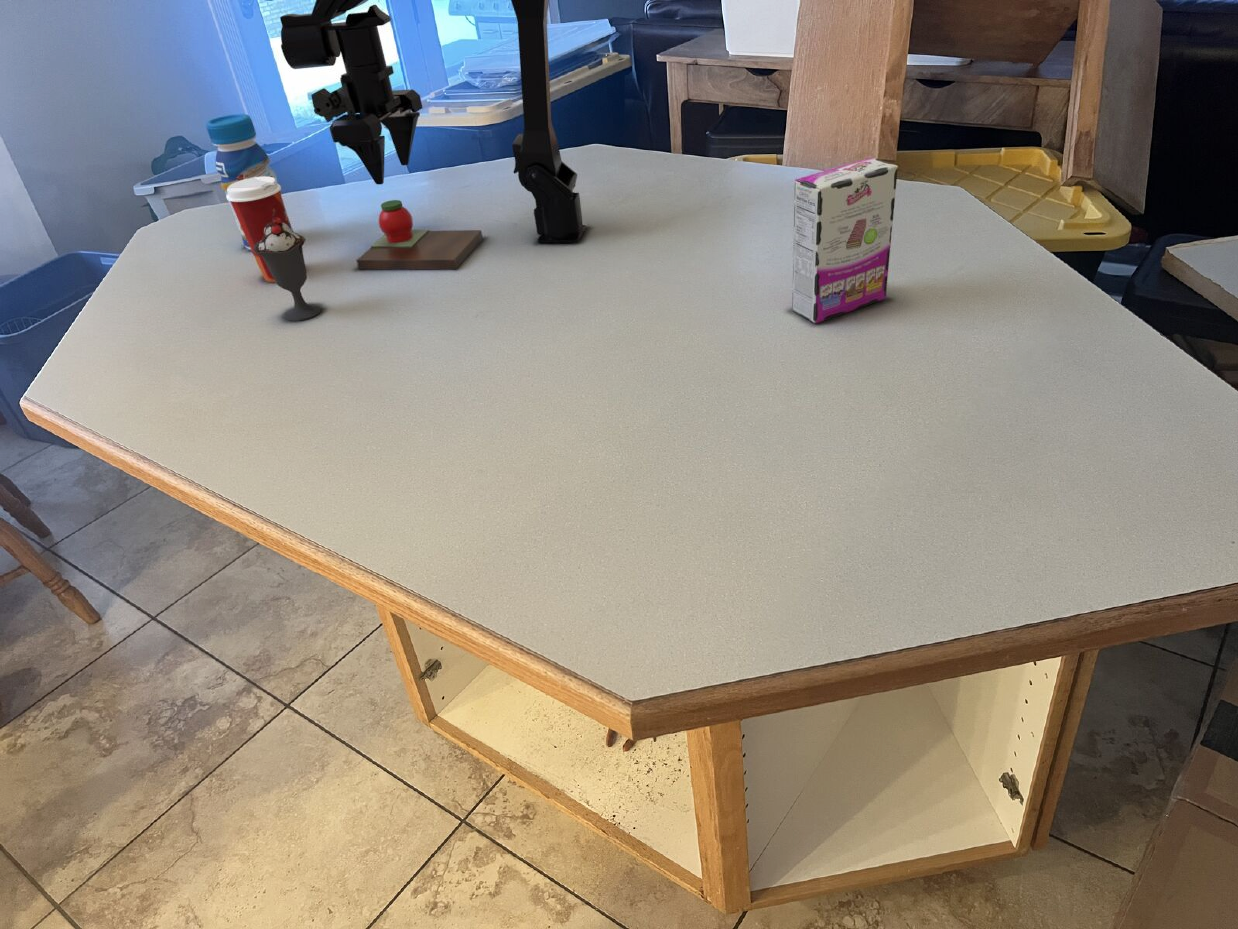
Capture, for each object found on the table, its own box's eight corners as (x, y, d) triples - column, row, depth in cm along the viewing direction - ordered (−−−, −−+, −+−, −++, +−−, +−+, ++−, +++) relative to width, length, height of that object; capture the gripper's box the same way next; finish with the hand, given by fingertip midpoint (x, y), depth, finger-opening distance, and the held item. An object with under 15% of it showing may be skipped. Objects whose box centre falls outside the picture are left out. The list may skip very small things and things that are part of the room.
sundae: (313, 324, 111) (276, 215, 102) (269, 323, 112) (229, 215, 104) (336, 302, 116) (303, 197, 107) (294, 302, 118) (257, 198, 109)
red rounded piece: (421, 231, 132) (413, 197, 129) (408, 243, 128) (399, 208, 125) (391, 231, 133) (383, 198, 130) (377, 244, 129) (368, 209, 126)
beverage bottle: (292, 230, 144) (252, 108, 132) (299, 244, 137) (258, 118, 125) (242, 241, 141) (197, 118, 129) (247, 256, 135) (199, 129, 123)
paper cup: (318, 266, 128) (289, 176, 120) (283, 287, 123) (250, 193, 114) (281, 262, 131) (250, 173, 123) (245, 282, 126) (210, 190, 117)
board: (483, 238, 132) (481, 228, 131) (456, 269, 122) (453, 258, 121) (391, 239, 135) (389, 229, 134) (358, 269, 126) (355, 258, 125)
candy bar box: (859, 286, 105) (871, 155, 96) (886, 300, 102) (901, 164, 92) (788, 310, 102) (793, 176, 92) (814, 325, 98) (821, 187, 88)
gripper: (344, 52, 125) (371, 157, 134) (279, 80, 111) (315, 196, 120) (411, 48, 123) (434, 155, 132) (354, 75, 108) (385, 194, 117)
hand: (392, 174), depth 125 cm, fingers open, 9 cm apart
